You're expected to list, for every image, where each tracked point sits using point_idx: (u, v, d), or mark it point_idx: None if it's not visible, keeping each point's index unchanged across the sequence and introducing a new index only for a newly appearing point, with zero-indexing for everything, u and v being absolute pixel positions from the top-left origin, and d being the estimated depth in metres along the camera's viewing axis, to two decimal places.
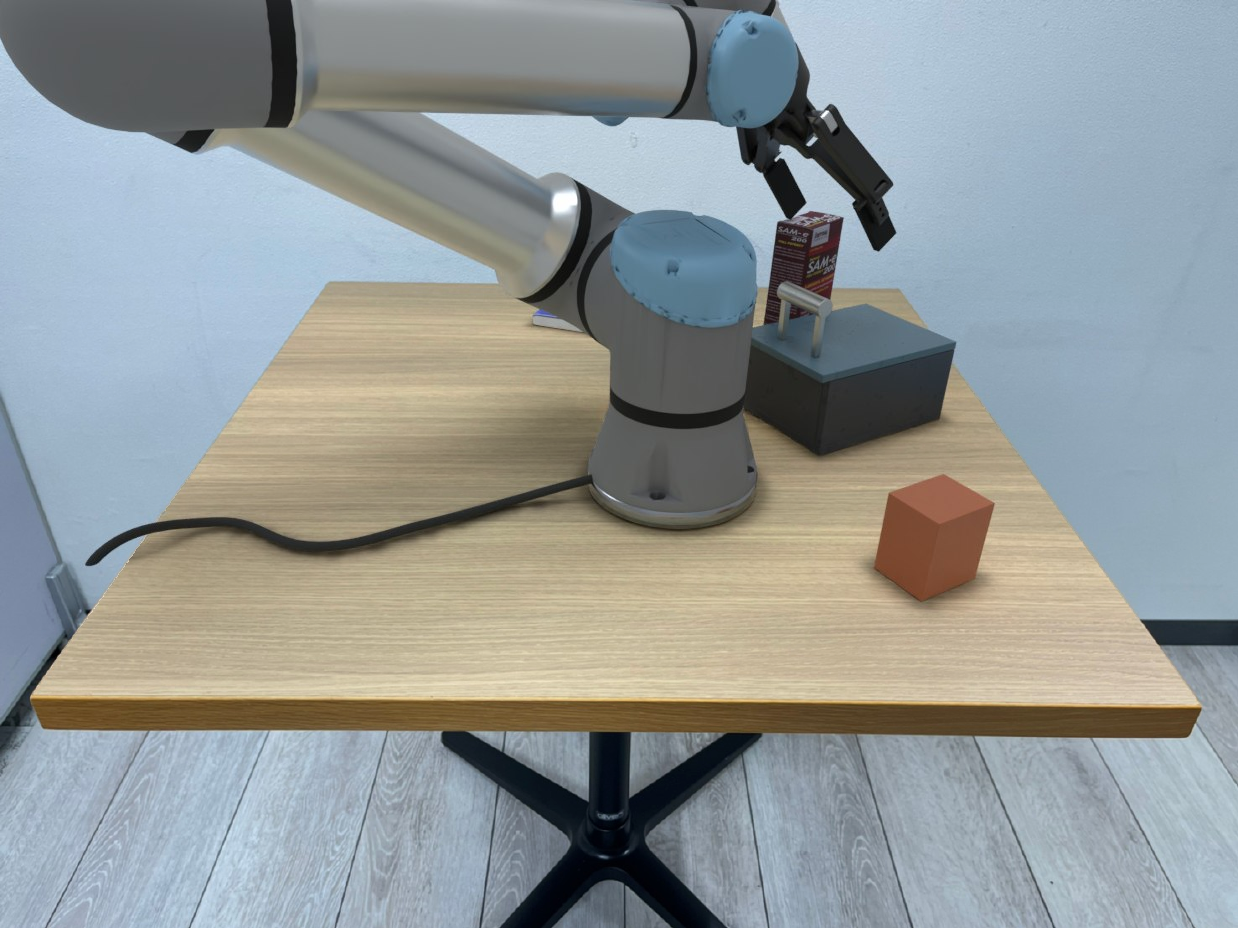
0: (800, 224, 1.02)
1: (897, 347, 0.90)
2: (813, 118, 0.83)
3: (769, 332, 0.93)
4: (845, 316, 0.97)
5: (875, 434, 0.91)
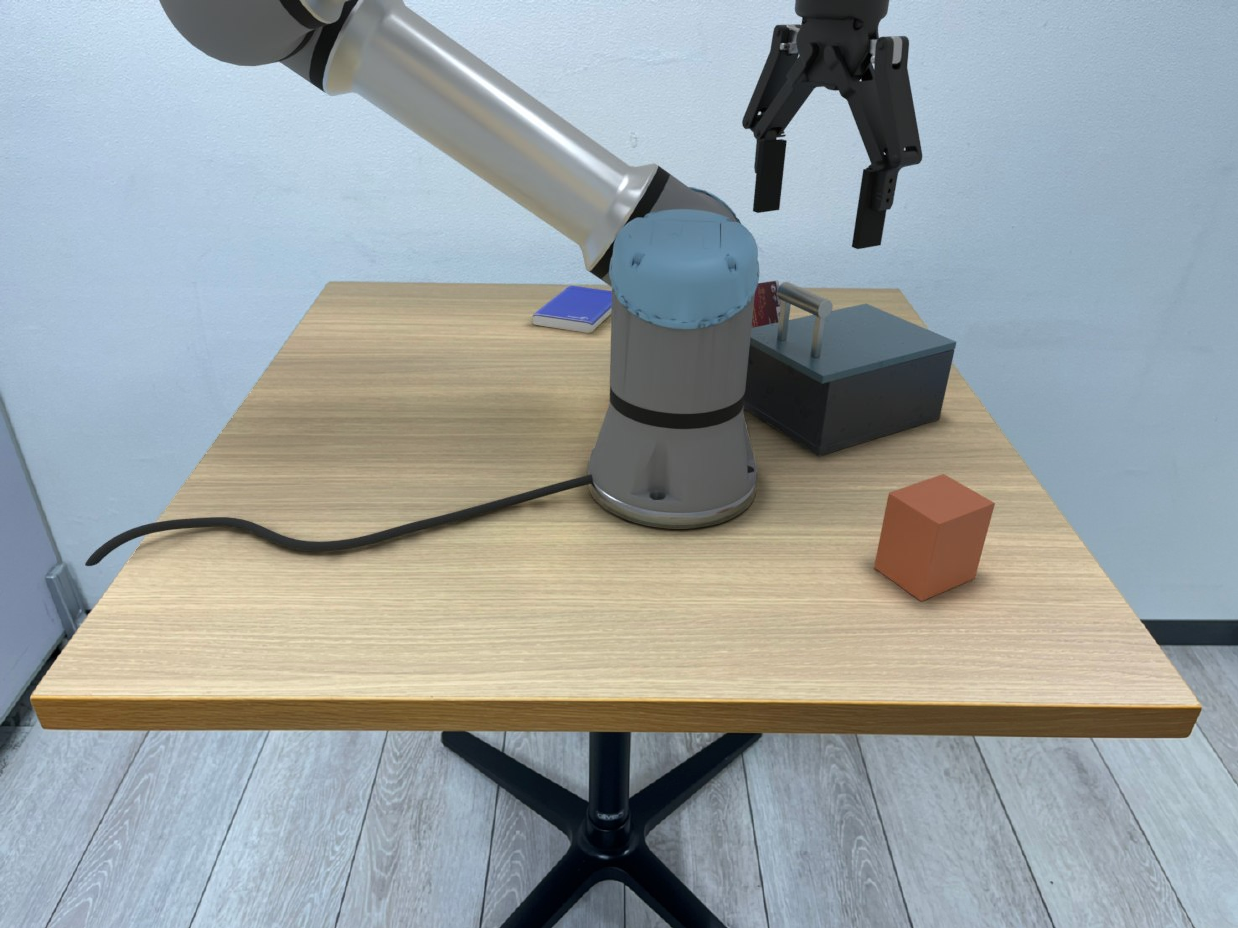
0: None
1: (897, 347, 0.90)
2: None
3: (769, 332, 0.93)
4: (845, 316, 0.97)
5: (875, 434, 0.91)
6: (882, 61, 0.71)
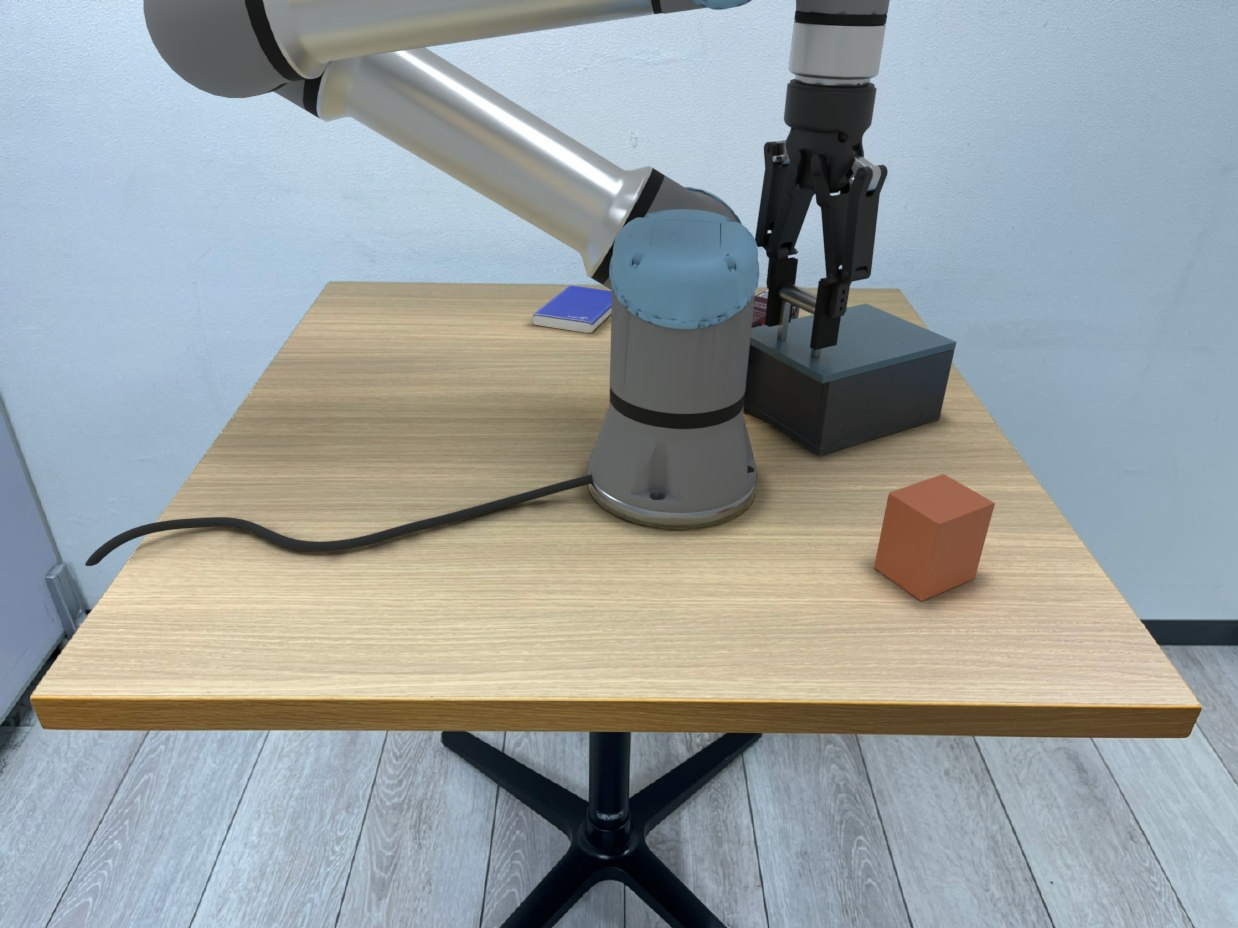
0: None
1: (897, 347, 0.90)
2: (862, 165, 0.76)
3: (769, 332, 0.93)
4: (845, 316, 0.97)
5: (875, 434, 0.91)
6: (858, 188, 0.76)
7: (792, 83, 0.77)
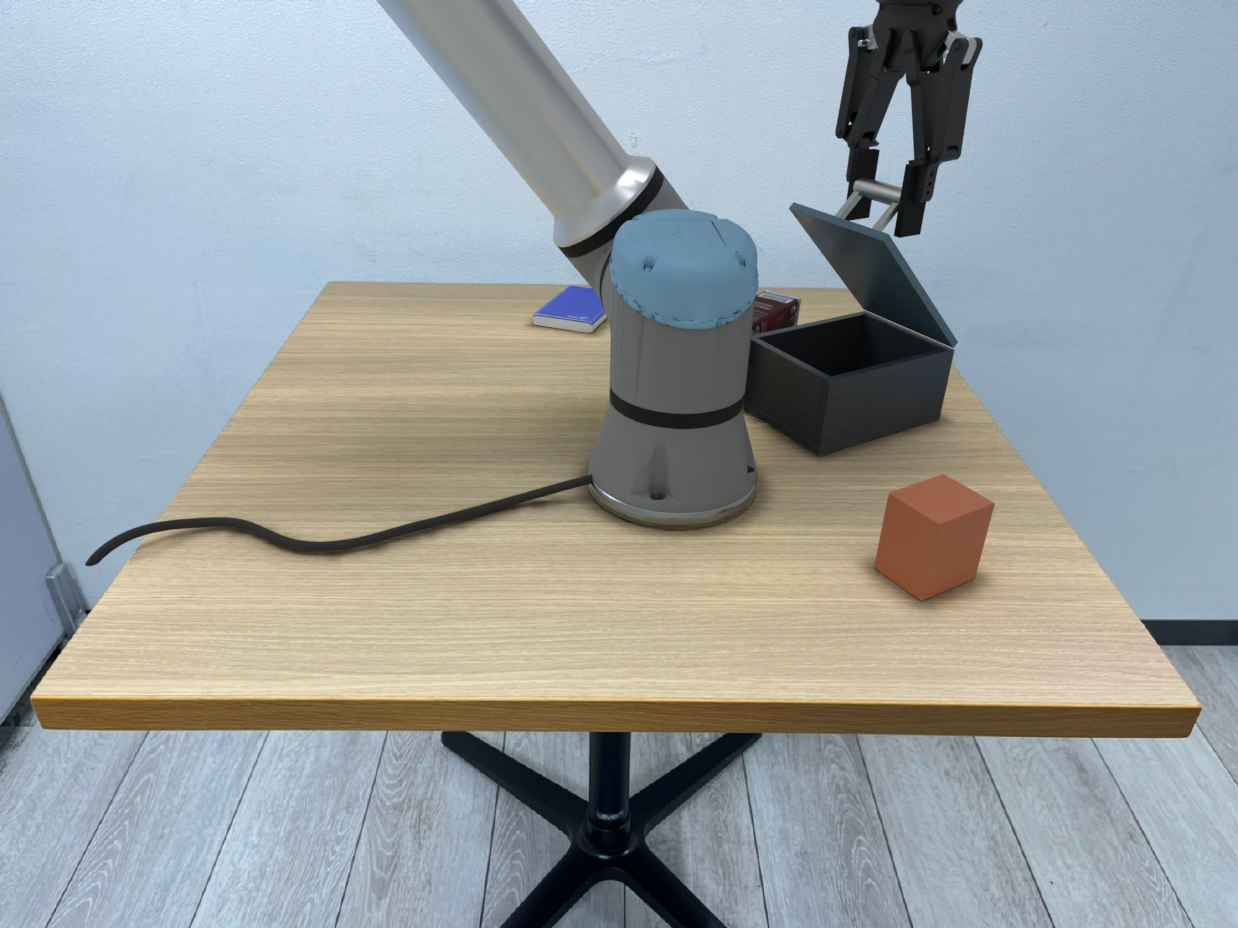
0: None
1: None
2: (957, 37, 0.76)
3: None
4: None
5: (875, 434, 0.91)
6: (953, 61, 0.76)
7: None
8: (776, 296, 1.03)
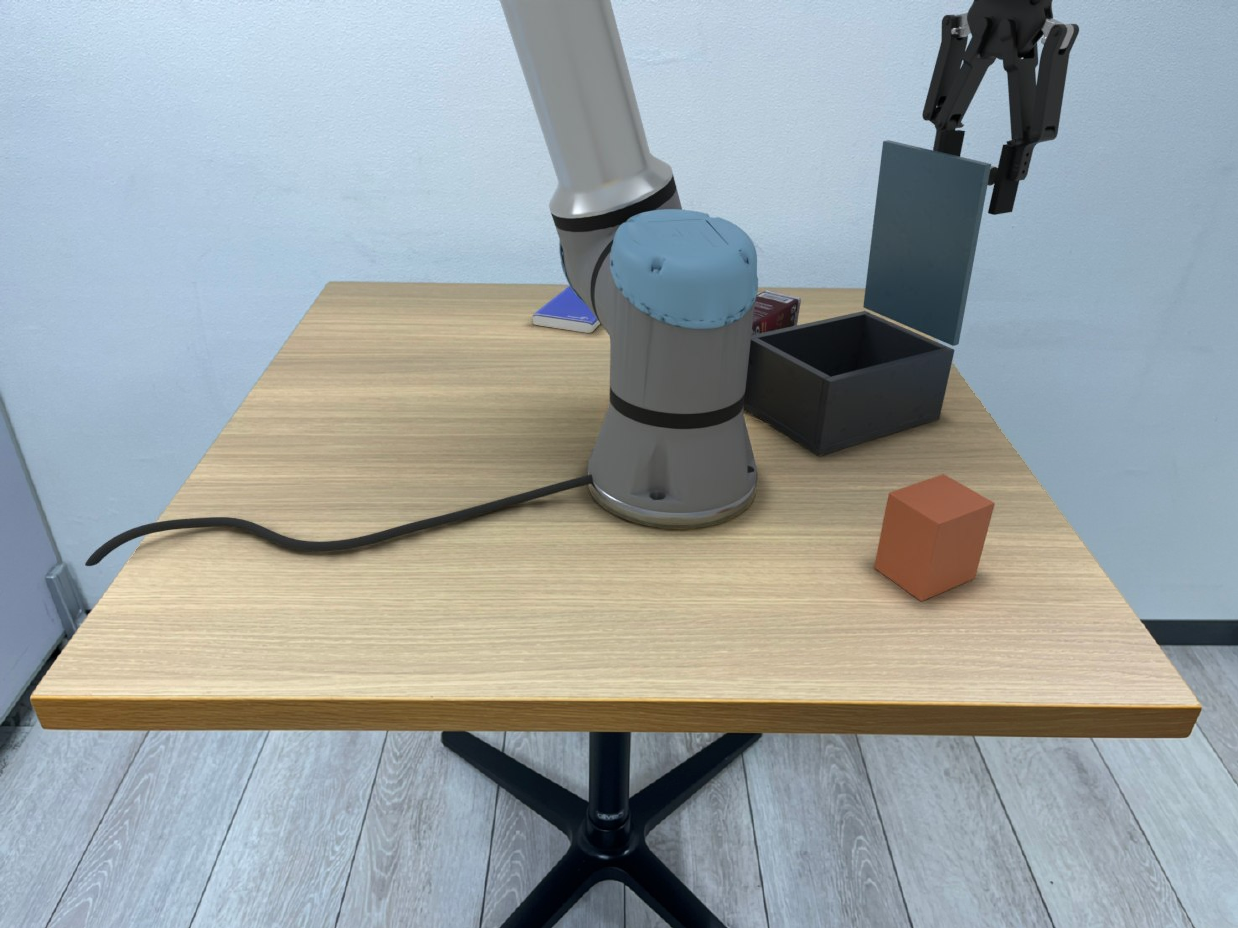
0: None
1: None
2: (1054, 24, 0.81)
3: None
4: None
5: (875, 434, 0.91)
6: (1051, 46, 0.81)
7: None
8: (776, 296, 1.03)
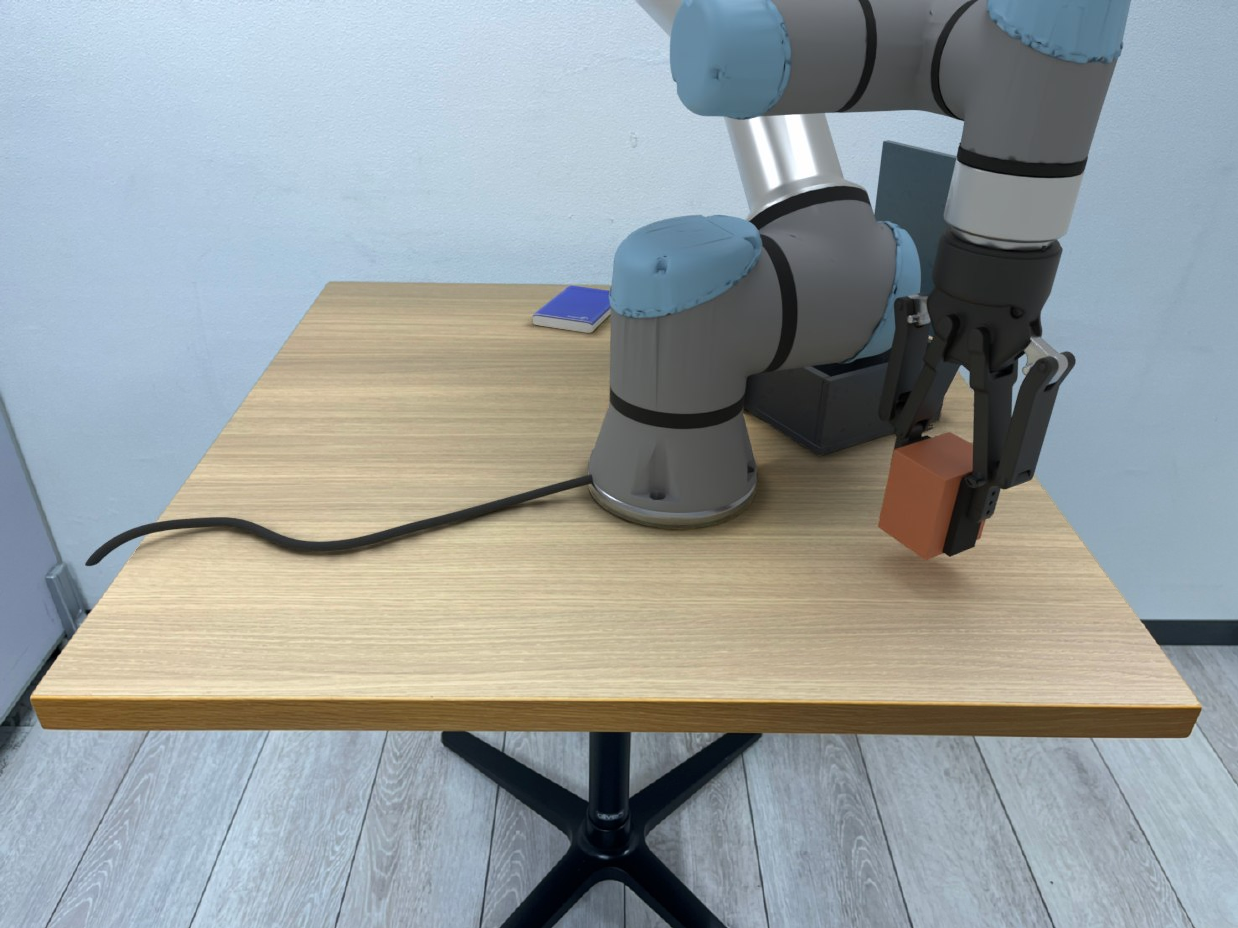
0: None
1: None
2: (1042, 352, 0.58)
3: None
4: None
5: (875, 434, 0.91)
6: (1035, 383, 0.58)
7: (950, 239, 0.58)
8: None
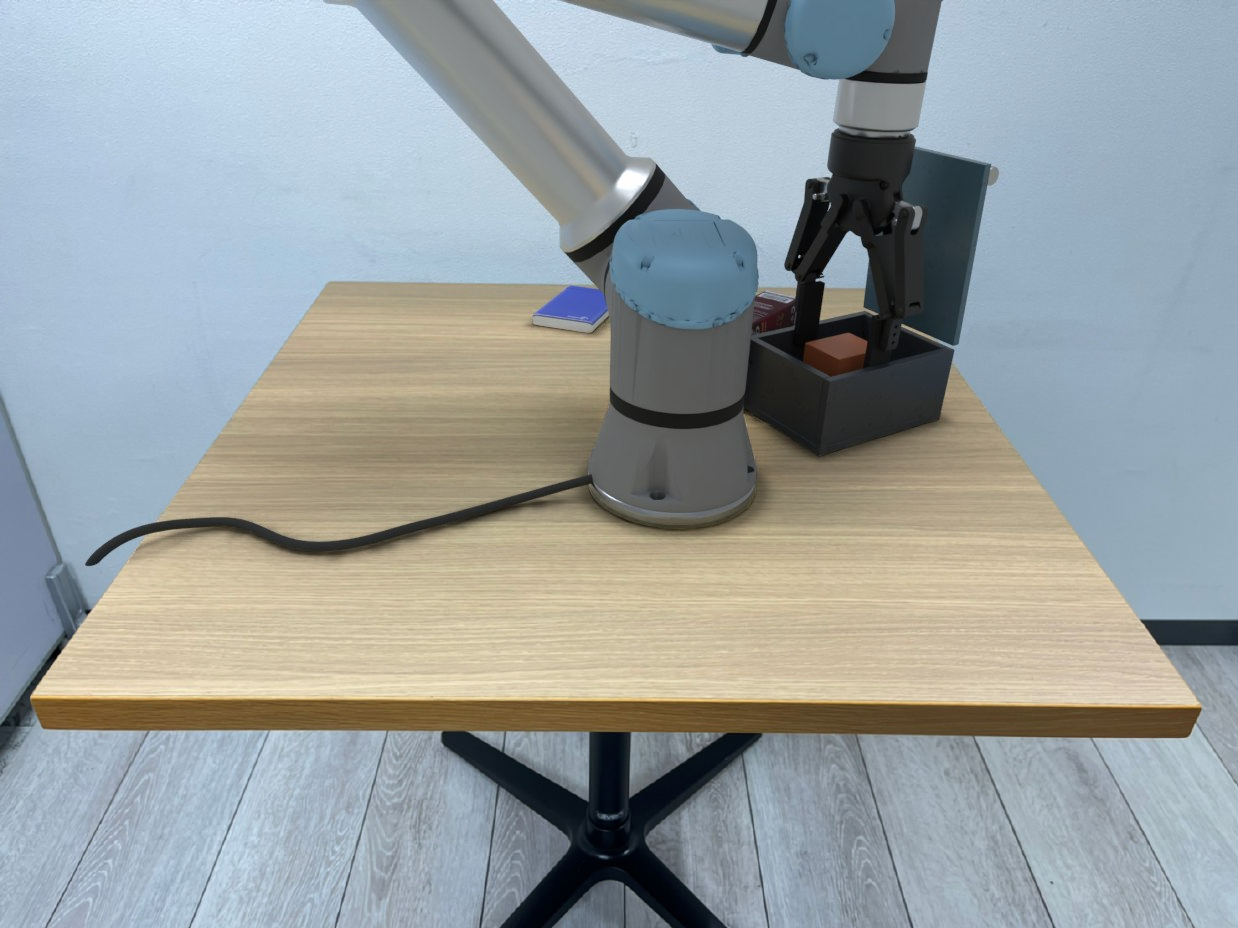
0: None
1: None
2: (903, 206, 0.81)
3: None
4: None
5: (875, 434, 0.91)
6: (902, 228, 0.81)
7: (836, 134, 0.82)
8: (776, 296, 1.03)
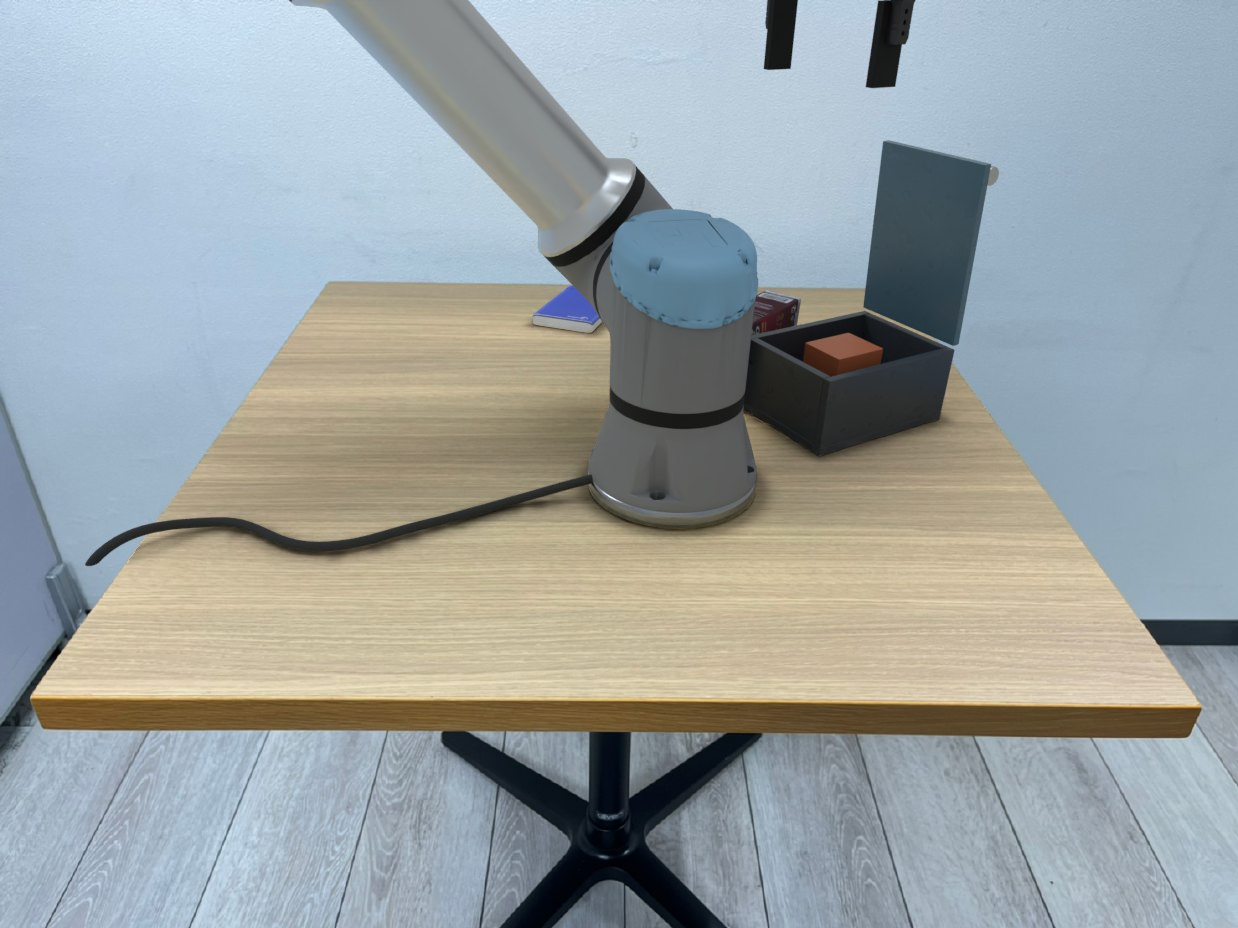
0: None
1: None
2: None
3: None
4: None
5: (875, 434, 0.91)
6: None
7: None
8: (776, 296, 1.03)
